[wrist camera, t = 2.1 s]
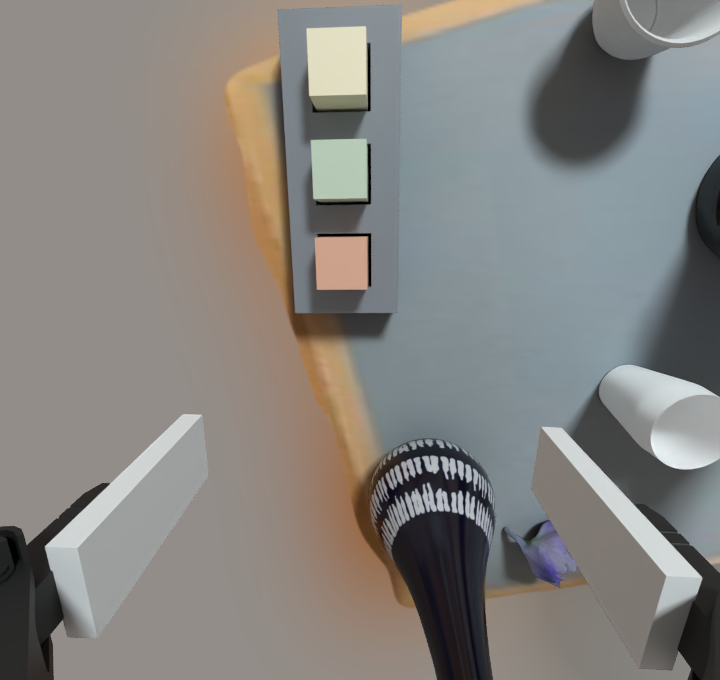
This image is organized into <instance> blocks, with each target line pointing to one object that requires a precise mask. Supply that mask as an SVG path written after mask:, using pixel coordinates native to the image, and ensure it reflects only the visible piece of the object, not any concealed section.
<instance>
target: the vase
mask: <svg viewBox="0 0 720 680" xmlns="http://www.w3.org/2000/svg"><path fill="white" fill-rule="evenodd" d="M369 511H370V517H371V521H372V525H373V528H374V530H375V533H376V535H377V537H378V539H379V540H380V542H381V544H382V546H383V547H384V549H385V550H386V552H387V554H388V555H389V557H390V558H391V560H392V561H393V563H394V564H395V566H396V567H397V569H398V570H399V572H400V574H401V575H402V577H403V579H404V581H405V583H406V585H407V587H408V589H409V591H410V593H411V596H412V598H413V600H414V603H415V606H416V608H417V611H418V614H419V616H420V620H421V623H422V626H423V629H424V633H425V636H426V639H427V643H428V646H429V650H430V653H431V657H432V660H433V664H434V668H435V673H436V677H437V680H493V676H492V670H491V663H490V656H489V647H488V637H487V626H486V614H485V576H486V567H487V561H488V556H489V551H490V547H491V543H492V538H493V534H494V529H495V521H496V503H495V496H494V492H493V489H492V486H491V483H490V480H489V478H488V476H487V474H486V472H485V471H484V469H483V468H482V466H481V465H480V463H479V462H478V461H477V460H476V459H475V458H474V457H473V456H472V455H471V454H470V453H469V452H467V451H466V450H464V449H463V448H461V447H459V446H457V445H456V444H453V443H450V442H447V441H444V440H440V439H432V438H424V439H417V440H412V441H409V442H406V443H404V444H402V445H400V446H398V447H397V448H395V449H394V450H392V451H391V452H390V453H389V454H388V455H386V456H385V458H384V459H383V460H382V461H381V462H380V464H379V465H378V467H377V469H376V471H375V472H374V475H373V477H372V480H371V484H370V489H369Z"/></svg>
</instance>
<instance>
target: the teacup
mask: <svg viewBox="0 0 720 680" xmlns="http://www.w3.org/2000/svg"><path fill="white" fill-rule="evenodd" d="M592 23H593V31H594V35H595V39H596V41H597V43H598V45H599V46H600V47H601V48H602V49H603V50H604V51H606V52H607V53H608V54H610V55H612V56H614V57H616V58H619V59H624V60H636V59H642V58H646V57H649V56H652V55H655V54H658V53H660V52H662V51H665V50H667V49H669V48H683V47H690V46H694V45H698V44H700V43H703V42H705V41H708V40H710V39H711V38H713V37H715V36H717V35H719V34H720V0H595V2H594V6H593V15H592Z"/></svg>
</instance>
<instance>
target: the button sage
mask: <svg viewBox="0 0 720 680" xmlns="http://www.w3.org/2000/svg"><path fill="white" fill-rule="evenodd" d="M311 155H312V179H313V199H314V200H316V201H318V202H321V203H368V147H367V139H332V140H311Z"/></svg>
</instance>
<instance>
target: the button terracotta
mask: <svg viewBox="0 0 720 680" xmlns="http://www.w3.org/2000/svg"><path fill="white" fill-rule="evenodd" d="M315 256H316V280H317V290H367V288H368V282H369V255H368V236H337V237H316V238H315Z"/></svg>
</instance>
